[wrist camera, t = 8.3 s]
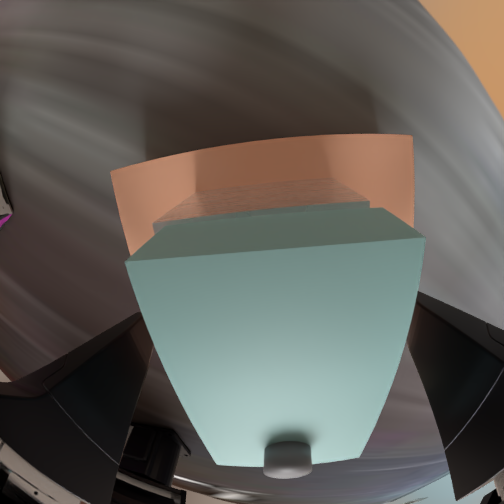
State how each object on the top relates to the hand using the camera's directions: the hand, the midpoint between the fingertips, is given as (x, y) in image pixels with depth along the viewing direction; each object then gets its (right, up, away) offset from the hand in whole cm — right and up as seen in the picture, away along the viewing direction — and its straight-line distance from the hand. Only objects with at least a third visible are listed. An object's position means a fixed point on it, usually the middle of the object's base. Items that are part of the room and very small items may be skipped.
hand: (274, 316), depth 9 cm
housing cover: (0, -1, -1) cm, 2 cm away
